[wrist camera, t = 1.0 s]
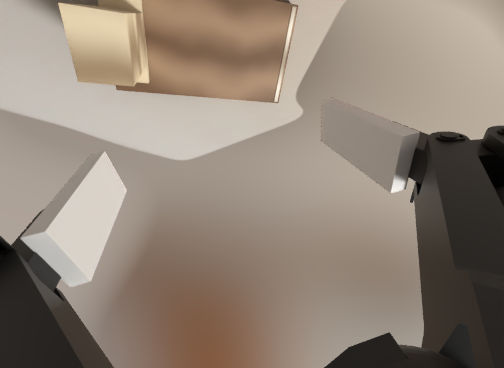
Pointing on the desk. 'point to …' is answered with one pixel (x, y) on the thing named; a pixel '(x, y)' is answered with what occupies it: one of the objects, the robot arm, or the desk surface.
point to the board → (217, 48)
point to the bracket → (107, 41)
